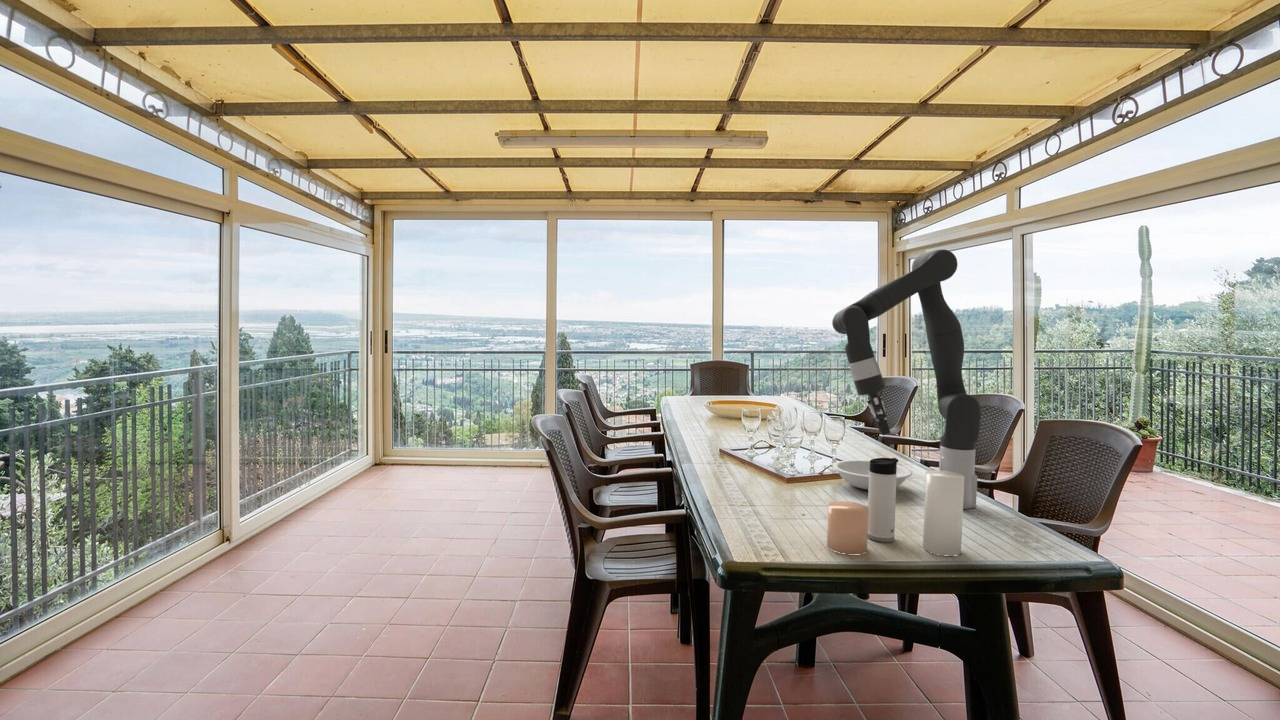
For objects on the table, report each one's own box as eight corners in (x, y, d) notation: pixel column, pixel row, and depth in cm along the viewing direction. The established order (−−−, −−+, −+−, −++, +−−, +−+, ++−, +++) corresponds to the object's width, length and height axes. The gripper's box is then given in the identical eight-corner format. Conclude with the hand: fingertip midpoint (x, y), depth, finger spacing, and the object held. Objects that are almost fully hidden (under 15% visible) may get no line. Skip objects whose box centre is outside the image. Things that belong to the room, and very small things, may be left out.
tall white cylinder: (952, 544, 142) (955, 471, 141) (966, 557, 134) (970, 479, 133) (917, 542, 143) (920, 469, 141) (930, 555, 135) (933, 478, 134)
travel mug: (899, 543, 142) (902, 461, 141) (872, 542, 142) (875, 461, 141) (889, 533, 149) (892, 455, 147) (863, 533, 149) (865, 455, 147)
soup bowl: (917, 486, 194) (918, 466, 194) (903, 503, 174) (904, 481, 174) (843, 474, 208) (844, 456, 207) (822, 490, 188) (823, 469, 187)
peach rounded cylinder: (861, 542, 143) (863, 501, 142) (871, 556, 134) (873, 513, 133) (823, 540, 144) (824, 500, 143) (831, 554, 135) (832, 511, 134)
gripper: (883, 372, 156) (901, 431, 155) (878, 372, 170) (896, 426, 168) (854, 380, 159) (872, 438, 157) (852, 379, 172) (869, 433, 171)
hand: (884, 432), depth 163 cm, fingers open, 8 cm apart
